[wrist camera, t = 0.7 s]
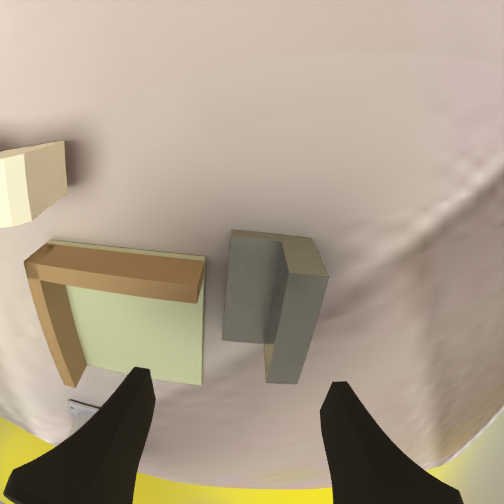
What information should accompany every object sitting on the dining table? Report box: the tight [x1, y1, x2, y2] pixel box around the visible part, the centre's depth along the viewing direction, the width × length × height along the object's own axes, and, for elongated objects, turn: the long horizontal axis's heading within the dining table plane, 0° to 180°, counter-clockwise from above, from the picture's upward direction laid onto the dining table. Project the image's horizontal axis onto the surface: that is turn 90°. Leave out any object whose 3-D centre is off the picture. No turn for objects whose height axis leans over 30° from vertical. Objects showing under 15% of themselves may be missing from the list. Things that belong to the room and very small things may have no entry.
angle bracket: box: [222, 230, 329, 384], centre depth 19 cm, size 8×5×5 cm, turn 174°
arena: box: [24, 240, 206, 388], centre depth 20 cm, size 12×12×4 cm
